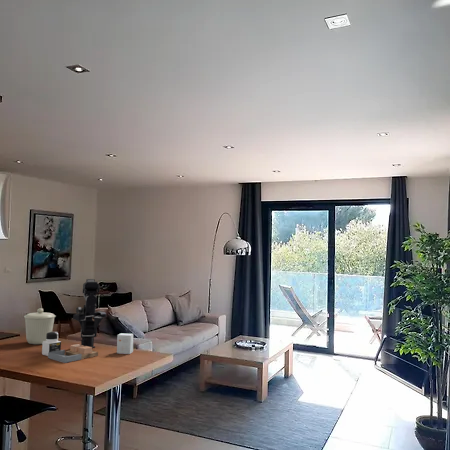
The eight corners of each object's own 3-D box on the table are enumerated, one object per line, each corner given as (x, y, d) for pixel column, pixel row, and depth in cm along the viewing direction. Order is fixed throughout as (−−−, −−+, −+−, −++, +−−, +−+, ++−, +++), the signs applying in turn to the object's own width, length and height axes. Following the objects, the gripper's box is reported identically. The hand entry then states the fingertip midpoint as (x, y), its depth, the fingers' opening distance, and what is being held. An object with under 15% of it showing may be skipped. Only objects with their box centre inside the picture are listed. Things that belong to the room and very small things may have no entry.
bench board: (82, 351, 248) (82, 348, 248) (97, 355, 240) (98, 352, 240) (65, 355, 239) (65, 351, 239) (81, 359, 231) (81, 355, 231)
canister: (23, 340, 274) (25, 306, 275) (54, 339, 280) (56, 306, 281) (21, 346, 257) (23, 310, 258) (54, 345, 263) (56, 310, 265)
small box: (133, 352, 252) (133, 333, 252) (130, 354, 246) (130, 335, 247) (119, 351, 253) (120, 333, 253) (116, 353, 247) (117, 334, 248)
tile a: (77, 349, 245) (78, 344, 245) (83, 350, 242) (83, 345, 242) (70, 350, 241) (70, 345, 241) (75, 352, 238) (76, 346, 238)
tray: (64, 355, 239) (64, 349, 240) (81, 359, 231) (81, 353, 231) (48, 358, 231) (48, 352, 232) (65, 363, 223) (65, 357, 223)
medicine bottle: (48, 356, 235) (50, 334, 236) (41, 354, 239) (42, 332, 240) (60, 354, 241) (61, 332, 242) (53, 352, 245) (54, 330, 246)
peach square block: (86, 351, 241) (86, 346, 241) (91, 352, 238) (92, 347, 238) (78, 353, 237) (78, 347, 237) (84, 354, 234) (84, 348, 234)
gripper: (95, 301, 262) (94, 327, 261) (68, 303, 247) (66, 331, 246) (107, 302, 255) (105, 329, 254) (80, 305, 240) (78, 333, 239)
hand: (89, 330), depth 249 cm, fingers open, 8 cm apart
